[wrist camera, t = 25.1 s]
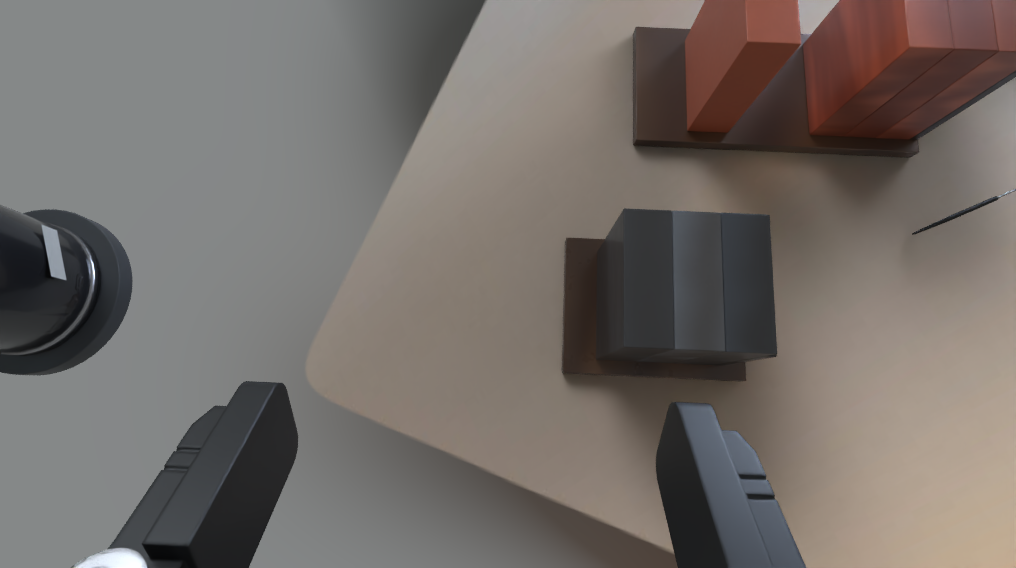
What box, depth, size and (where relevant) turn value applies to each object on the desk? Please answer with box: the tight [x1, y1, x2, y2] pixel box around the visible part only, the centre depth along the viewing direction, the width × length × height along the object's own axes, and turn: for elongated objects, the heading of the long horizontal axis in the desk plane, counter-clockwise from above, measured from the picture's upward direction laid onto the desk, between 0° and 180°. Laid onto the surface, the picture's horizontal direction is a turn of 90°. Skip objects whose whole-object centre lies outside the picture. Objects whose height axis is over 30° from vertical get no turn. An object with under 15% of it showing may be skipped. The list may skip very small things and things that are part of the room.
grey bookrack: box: [562, 209, 777, 381], centre depth 36 cm, size 13×10×10 cm
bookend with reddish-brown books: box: [633, 0, 1016, 157], centre depth 39 cm, size 22×10×12 cm, turn 87°
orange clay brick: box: [685, 0, 801, 133], centre depth 39 cm, size 3×8×11 cm, turn 178°
